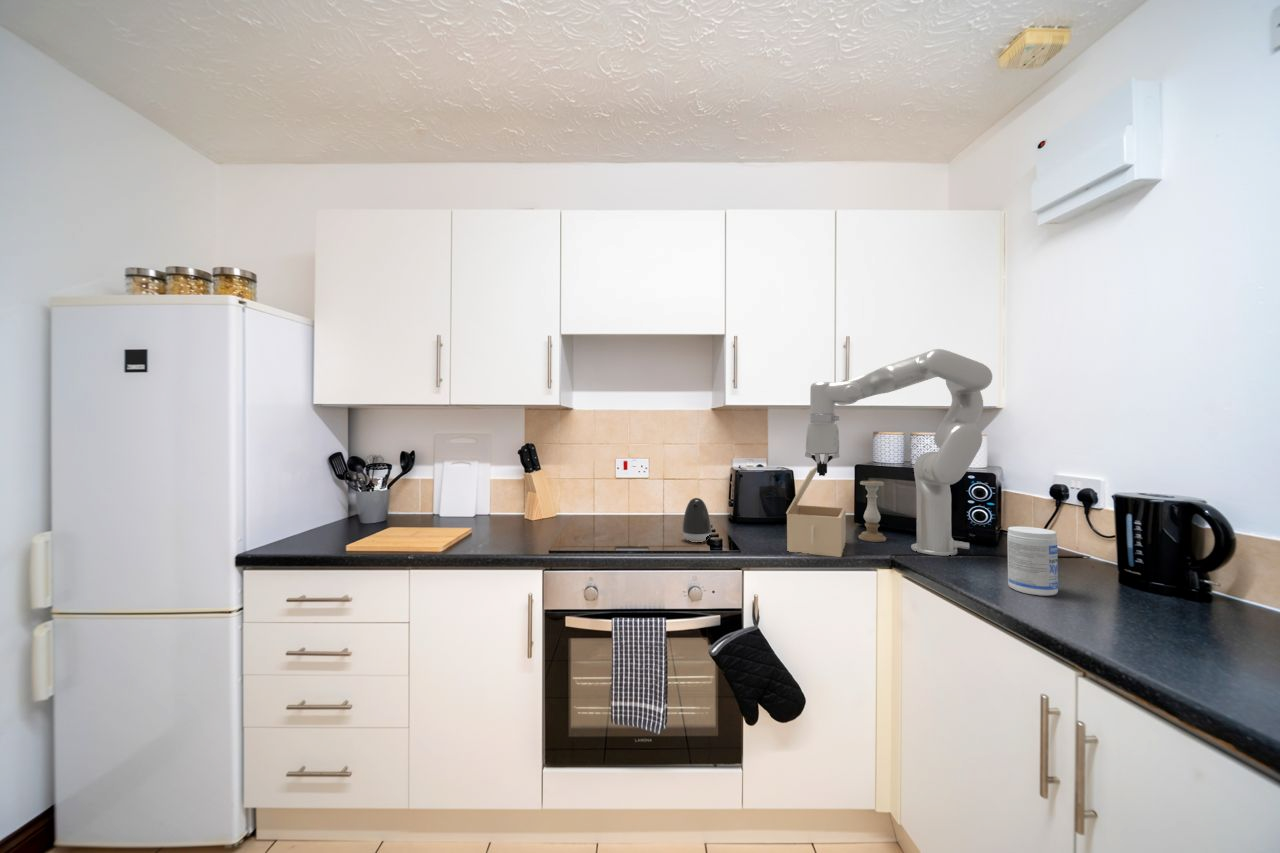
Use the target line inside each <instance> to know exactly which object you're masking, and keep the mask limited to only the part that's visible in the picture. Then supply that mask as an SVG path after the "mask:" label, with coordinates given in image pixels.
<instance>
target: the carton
mask: <svg viewBox="0 0 1280 853" xmlns="http://www.w3.org/2000/svg"><path fill="white" fill-rule="evenodd" d="M846 516H847V515H846V507H834V506H833V507H831V506H817V505H803V504H802V505H801V504H797V505H796V506H795V507H794V508H793V509H792V510H791V511H790V512H789V513H788V514H786V541H787V543H786V546H787V548H786V549H787V550H786V551H789V552H790V553H797V552H802V553H801V554H807V553H809V554H810V555H817V556H827V557H837V558H842V555H843V553H844V550H843V549H845V547H846V544H847V541H846V540H847V538H846V537H847V534H846V532H847V531H846V526H847V525H846V524H847V522H846ZM845 543H846V544H845ZM789 552H788V553H789Z"/></svg>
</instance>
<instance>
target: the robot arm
mask: <svg viewBox="0 0 1280 853" xmlns="http://www.w3.org/2000/svg"><path fill="white" fill-rule="evenodd" d="M935 378H940V379H942V380H945V384H946V388H947V389H948V391H949V392H950V394H951V395H950V396H951V404H950V406H949V409H948V410H947V413H946V415H945V416H944V418H943V420H941V423H940V424H939V426H938V428H937V430H936V432H935V433H934V436H933V437H934V438H933V441H934V443H935V445H936V446H937V448H939V449H938V451H927V452H924V453H922V454H920V455H919V456H918V457H916V459H915V460H914V461H915V462H914V464H913V472H914V473H913V475H914V479H915V487H916V488H915V489H916V542H915V543H912V544H911V545H910V546H911V550H912V551H914V552H916V551H917V552H916V553H920V554H925V555H930V556H941V557H942V556H944V557H945V556H946V557H947V556H949V555H951V556H955V555H957V554H958V549H963V550H964V549H965V550H969V549H970V542H966V541H965V542H964V541H959V540H954V538H953V537H952V492H951V487H950V486H951V485H954V484H956V483H957V482H959V481H960V480H962V478H963V477H964V475H965V474H966V473H967V471H968V469H969V468H970V466H971V465H972V463H973V461H974V459H975V458H976V456H977V454H978V453H979V451H980V449H981V446H982V443H983V434H982V431H981V429H980V428H979V427H978V426H977V424H978V421H979V419H980V417H981V416H982V413H983V410H984V399H983V398H984V397H983V395H982V393H981V391H983V390H986V388H988V387H989V386H990V384H991V383H992V380H993V373H992V370H991V369H990V367H988V366H987V365H986V364H984V363H982V362H980V361H977V360H975V359H971V358H969V357H966V356H963V355H960V354H958V353H955V352H952V351H950V350H946V349H941V348H935V349H931V350H928V351H925V352H923V353H921V354H917V355H914V356H911V357H909V358H908V357H907V358H906V359H902V360H899V361H897V362H894V363H890V364H887V365H885V366H882V367H879V368H877V369H876V370H873V371H871V372H869V373H866V374H864V375H861V376H858V377H855V378H853V379H849V380H845V381H837V382H832V381H831V382H830V381H819V382H814V383H811V385H810V387H809V388H810V391H809V392H810V393H809V394H810V396H809V397H810V398H809V400H810V404H809V409H810V410H809V412H810V415H809V416H810V417H809V419H810V420H809V421H810V422H809V423H807V427H806V435H805V454H804V457H806V458H809V459H812V460H813V461H814V462H815V463H816V467H817V472H816V473H817V474H818V475H819V476H821V477H822V476H823V477H825V476H826V474H828V463H830V461H832V460H834V459H839V458H840V438H839V437H840V435H839V427H838V423H835V422H836V421H840V416H837V415H836V414H835V413H836V411H835V406H836V405H835V404H837V405H841V406H846V405H852V404H855V403H856V402H858V401H860V400H863V399H866V398H869V397H873V396H877V395H882V394H888V393H892V392H896V391H898V390H902V389H904V388H907V387H910V386H913V385H916V384H919V383H922V382H925V381H929V380H931V379H935ZM821 455H824V456H823V457H824V458H823V461H821ZM819 476H818V477H819Z"/></svg>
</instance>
